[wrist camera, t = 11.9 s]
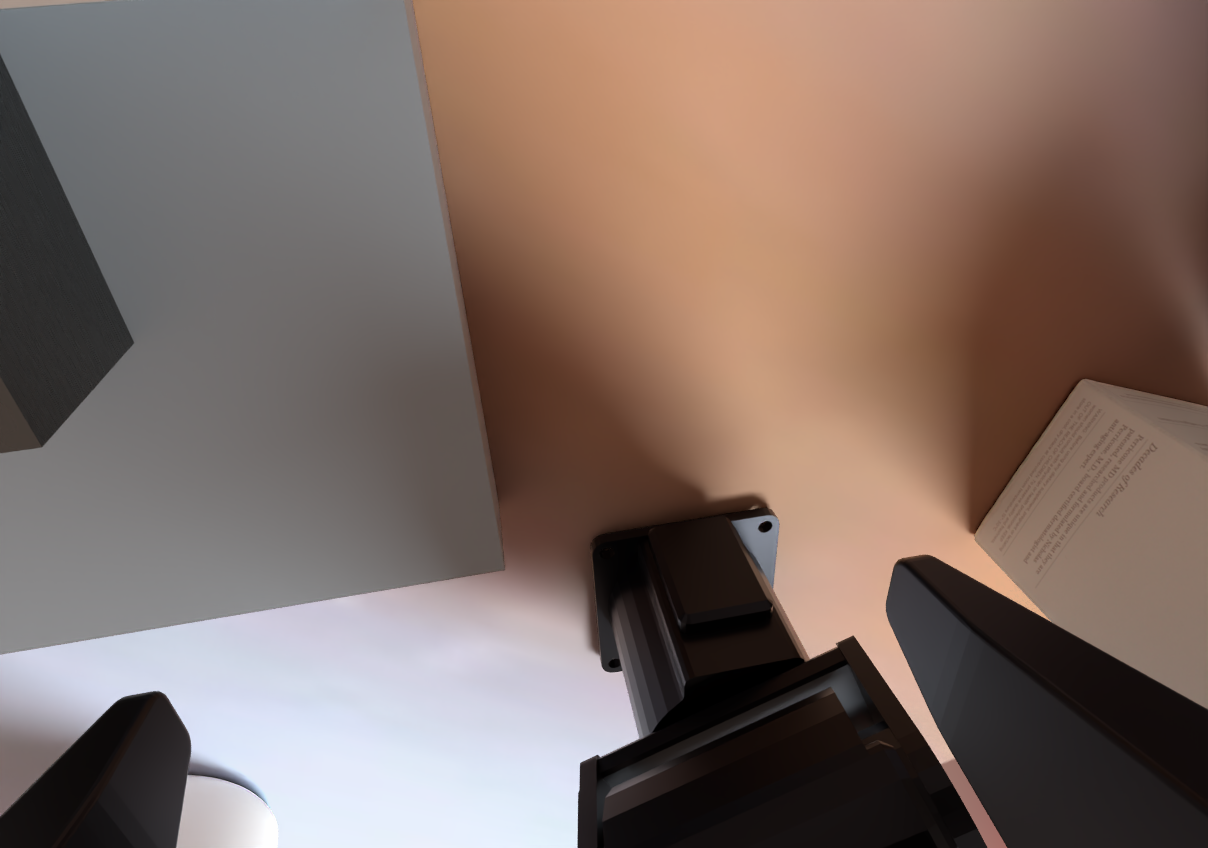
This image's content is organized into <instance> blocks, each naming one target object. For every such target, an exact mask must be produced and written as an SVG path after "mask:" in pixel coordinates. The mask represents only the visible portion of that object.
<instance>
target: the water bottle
mask: <svg viewBox="0 0 1208 848" xmlns="http://www.w3.org/2000/svg"><path fill="white" fill-rule="evenodd" d="M277 842H278V825H277V821H276V818H275V816H274V814H273V812H272V811H271V809H270V808H269V807H268V806H267V804H266V803H265V802H264V801H263V800H262V799H261V798H259V797H258V796H257V795H255V794H254V793H253V792H251V791H249V790H248V789H246V788H244V787H242V786H239V785H237V784H234V783H232V782H229V781H225V780H221V779H217V778H212V777H206V776H195V775H188V776H187V783H186V789H185V795H184V802H183V808H182V815H181V821H180V828H179V834H178V841H177V847H176V848H277Z"/></svg>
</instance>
